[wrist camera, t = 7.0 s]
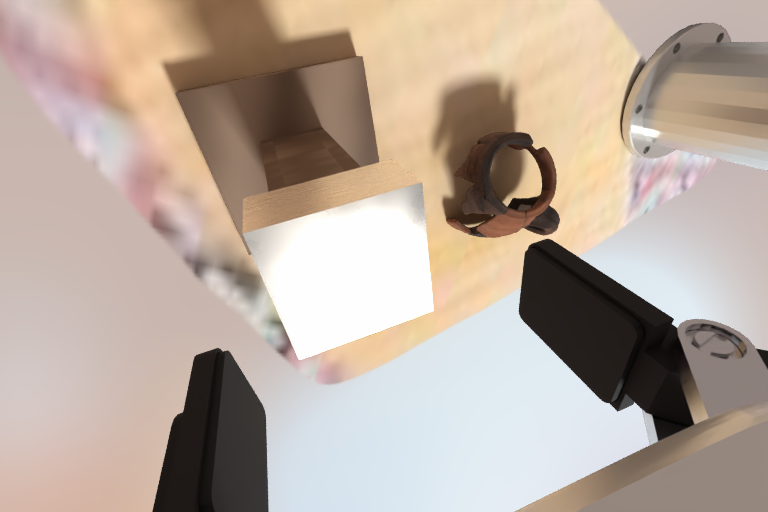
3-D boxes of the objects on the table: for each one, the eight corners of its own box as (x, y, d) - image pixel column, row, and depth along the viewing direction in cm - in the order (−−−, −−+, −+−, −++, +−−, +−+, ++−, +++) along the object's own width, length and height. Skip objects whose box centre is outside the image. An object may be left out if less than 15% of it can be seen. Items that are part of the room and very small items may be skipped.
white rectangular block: (331, 113, 23) (422, 182, 11) (349, 193, 27) (433, 310, 15) (244, 133, 22) (242, 233, 10) (274, 213, 26) (299, 360, 14)
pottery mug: (416, 219, 33) (458, 207, 25) (447, 134, 34) (496, 97, 26) (512, 262, 37) (576, 263, 29) (537, 183, 38) (605, 163, 30)
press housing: (356, 56, 24) (437, 61, 14) (381, 207, 31) (448, 284, 21) (179, 90, 22) (120, 127, 11) (248, 246, 28) (250, 354, 18)
